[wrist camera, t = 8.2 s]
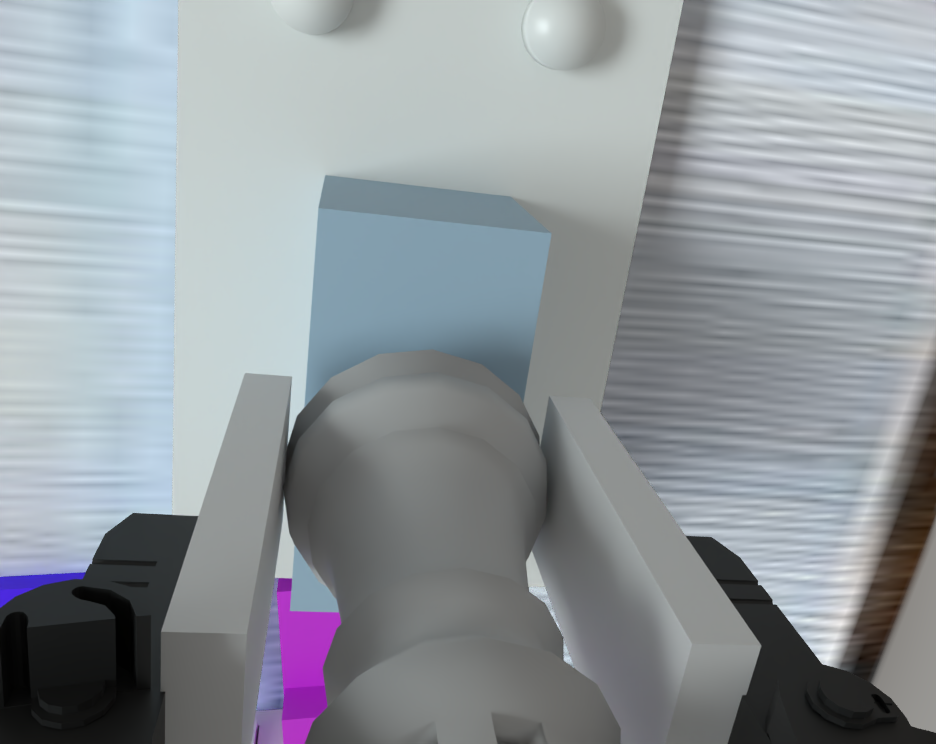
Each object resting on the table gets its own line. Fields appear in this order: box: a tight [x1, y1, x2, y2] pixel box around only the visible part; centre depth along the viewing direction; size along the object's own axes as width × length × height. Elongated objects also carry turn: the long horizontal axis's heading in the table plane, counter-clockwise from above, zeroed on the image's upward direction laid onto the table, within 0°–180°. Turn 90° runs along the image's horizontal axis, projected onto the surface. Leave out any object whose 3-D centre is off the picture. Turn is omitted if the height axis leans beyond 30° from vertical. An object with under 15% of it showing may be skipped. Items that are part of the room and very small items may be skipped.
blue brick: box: [290, 175, 552, 612], centre depth 17 cm, size 8×4×4 cm, turn 172°
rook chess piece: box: [283, 349, 621, 744], centre depth 11 cm, size 4×4×8 cm
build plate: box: [172, 0, 684, 587], centre depth 18 cm, size 18×10×2 cm, turn 172°
